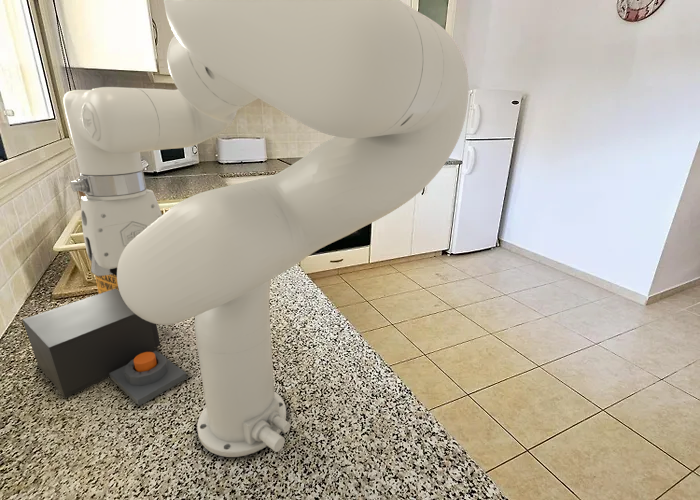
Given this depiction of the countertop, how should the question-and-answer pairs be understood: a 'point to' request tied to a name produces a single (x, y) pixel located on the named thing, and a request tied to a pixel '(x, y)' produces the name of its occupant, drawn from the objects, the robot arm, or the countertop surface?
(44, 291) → the countertop surface
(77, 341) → the matte grey oblong box
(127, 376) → the control pad
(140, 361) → the button
